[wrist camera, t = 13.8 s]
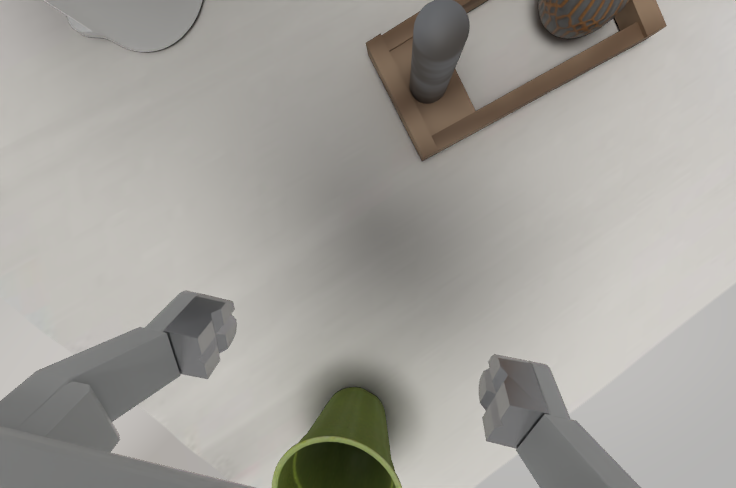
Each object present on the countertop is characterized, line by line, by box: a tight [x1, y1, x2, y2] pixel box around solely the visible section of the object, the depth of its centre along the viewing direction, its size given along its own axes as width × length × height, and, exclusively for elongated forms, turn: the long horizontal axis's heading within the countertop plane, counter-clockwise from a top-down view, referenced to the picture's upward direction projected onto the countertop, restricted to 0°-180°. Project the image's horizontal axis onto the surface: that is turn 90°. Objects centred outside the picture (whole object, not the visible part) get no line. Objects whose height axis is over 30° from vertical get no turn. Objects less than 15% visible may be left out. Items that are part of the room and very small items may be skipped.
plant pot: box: [272, 387, 402, 488], centre depth 33 cm, size 12×12×11 cm
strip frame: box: [366, 0, 666, 161], centre depth 25 cm, size 12×23×12 cm, turn 118°
